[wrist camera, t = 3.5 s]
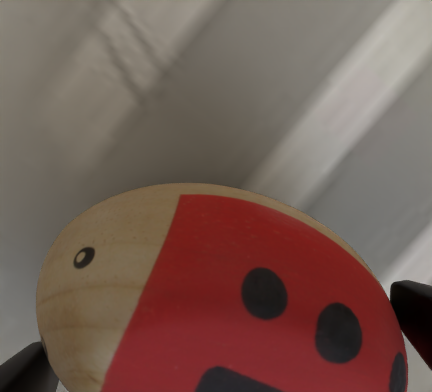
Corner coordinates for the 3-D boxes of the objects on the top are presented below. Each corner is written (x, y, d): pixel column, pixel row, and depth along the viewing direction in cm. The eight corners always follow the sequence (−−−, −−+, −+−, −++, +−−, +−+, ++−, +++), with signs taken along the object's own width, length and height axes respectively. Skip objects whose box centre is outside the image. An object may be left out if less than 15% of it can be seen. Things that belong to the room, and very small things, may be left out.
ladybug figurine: (96, 129, 8) (39, 130, 4) (414, 248, 10) (545, 312, 6) (20, 360, 9) (-76, 510, 5) (324, 425, 11) (397, 564, 7)
